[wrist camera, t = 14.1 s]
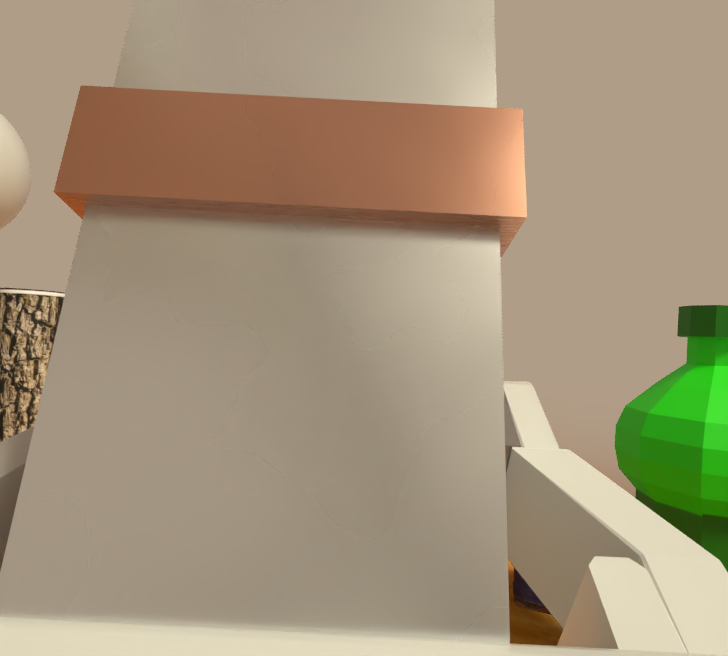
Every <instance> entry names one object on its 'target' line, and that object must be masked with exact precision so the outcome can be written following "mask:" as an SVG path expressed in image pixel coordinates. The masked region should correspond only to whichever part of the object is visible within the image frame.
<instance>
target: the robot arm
mask: <svg viewBox="0 0 728 656" xmlns="http://www.w3.org/2000/svg"><path fill="white" fill-rule="evenodd" d="M30 186H31V167H30V161H29V157H28V154H27V151H26V148H25V146H24V144H23V142H22V141H21V138H20V137H19V135H18V134H17V132H16V130H15V129H14V128H13V127H12V125H11V124H10V123H9V122H8V121H7V120H6V118H5V117H4V116H3V115H1V114H0V229H1V228H3V227H4V226H6V225H7V224H8V223H10V222H11V221H12V220H13V219H14V218H15V217H16V216H17V214H18V213H19V212H20V211H21V209H22V207H23V206H24V204H25V202H26V200H27V197H28V194H29V191H30ZM504 421H505V461H506V502H507V542H508V560H509V561H510V562H511V564H512V565H513V566H514V567H515V569H516V570H517V571H518V572H519V574H520V575H521V576H522V578H523V579H524V580H525V581H526V583H527V584H528V585H529V586H530V588H531V589H532V590H533V591H534V593H535V594H536V595H537V597H538V598H539V599H540V600H541V602H542V603H543V604H544V605H545V607H546V608H547V609H548V610H549V612H550V613H551V614H552V615H553V617H554V618H555V619H556V621H557V622H558V623H559V624H560V626H561V627H562V628H563V632H562V634H561V637H560V639H559V642H558V644H557V646H548V645H529V644H510V643H492V642H473V641H454V640H435V639H416V638H397V637H378V636H359V635H341V634H322V633H304V632H286V631H268V630H247V629H226V628H205V627H184V626H164V625H144V624H125V623H105V622H86V621H66V620H47V619H27V618H8V617H0V656H728V572H727V571H726V569H725V568H724V566H723V564H722V563H721V561H720V560H719V559H717V558H716V557H715V556H713V555H712V554H711V553H709V552H708V551H706V550H705V549H704V548H702V547H701V546H700V545H698V544H697V543H696V542H694V541H693V540H691V539H690V538H689V537H687V536H686V535H685V534H683V533H682V532H681V531H679V530H678V529H676V528H675V527H674V526H672V525H671V524H670V523H668V522H667V521H666V520H664V519H663V518H662V517H660V516H659V515H657V514H656V513H655V512H653V511H652V510H651V509H649V508H648V507H647V506H645V505H644V504H642V503H641V502H640V501H638V500H637V499H636V498H634V497H633V496H631V495H630V494H629V493H627V492H626V491H625V490H623V489H622V488H621V487H619V486H618V485H617V484H615V483H614V482H613V481H611V480H610V479H608V478H607V477H605V476H604V475H603V474H602V473H600V472H599V471H598V470H596V469H595V468H593V467H592V466H591V465H589V464H588V463H587V462H585V461H584V460H583V459H581V458H580V457H578V456H577V455H576V454H574V453H573V452H572V451H570V450H566V449H565V450H564V449H559V446H558V444H557V442H556V439H555V437H554V435H553V432H552V430H551V427H550V425H549V423H548V420H547V418H546V416H545V414H544V411H543V409H542V406H541V404H540V401H539V399H538V397H537V394H536V392H535V390H534V387H533V385H532V384H531V383H529V382H517V381H516V382H514V381H504ZM33 430H34V426H33V427H31V428H29V429H27V430H25V431H23V432H21V433H19V434H16V435H14V436H12V437H10V438H8V439H6V440H4V441H2V442H0V571H1V567H2V563H3V558H4V554H5V550H6V546H7V541H8V537H9V533H10V528H11V524H12V520H13V516H14V511H15V507H16V503H17V498H18V494H19V490H20V485H21V481H22V477H23V473H24V468H25V464H26V460H27V455H28V451H29V447H30V443H31V438H32V434H33Z"/></svg>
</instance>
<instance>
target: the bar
mask: <svg viewBox="0 0 728 656" xmlns="http://www.w3.org/2000/svg"><path fill="white" fill-rule="evenodd" d="M495 61H496V59H495V19H494V0H133V5H132V9H131V13H130V18H129V22H128V26H127V30H126V35H125V39H124V44H123V48H122V52H121V57H120V60H119V65H118V69H117V74H116V78H115V82H114V86H113V87H97V86H81V87H80V91H79V95H78V99H77V103H76V107H75V111H74V115H73V118H72V122H71V126H70V131H69V134H68V138H67V142H66V146H65V150H64V154H63V158H62V162H61V166H60V169H59V173H58V177H57V181H56V185H55V189H54V192H55V193H56V194H57V195H58V196H59V197H60V198H61V199H62V200H63V201H64V202H65V203H66V204H67V205H68V206H69V207H70V208H71V209H72V210H73V211H74V212H75V213H77V215H78V216H80V217H81V218H82V224H81V228H80V232H79V236H78V241H77V245H76V249H75V254H74V258H73V262H72V267H71V271H70V275H69V279H68V284H67V289H66V292H65V297H64V301H63V305H62V309H61V314H60V318H59V322H58V327H57V331H56V335H55V340H54V344H53V348H52V352H51V357H50V361H49V365H48V370H47V374H46V378H45V382H44V387H43V391H42V395H41V400H40V404H39V408H38V412H37V417H36V421H35V425H34V430H33V434H32V438H31V443H30V447H29V451H28V455H27V460H26V464H25V468H24V473H23V477H22V481H21V485H20V490H19V494H18V498H17V503H16V507H15V511H14V516H13V520H12V524H11V528H10V533H9V537H8V541H7V546H6V550H5V554H4V558H3V563H2V567H1V571H0V617H8V618H27V619H47V620H66V621H86V622H105V623H125V624H144V625H164V626H184V627H205V628H226V629H247V630H268V631H286V632H304V633H322V634H341V635H359V636H378V637H397V638H416V639H435V640H454V641H473V642H492V643H510V622H509V582H508V542H507V502H506V461H505V421H504V381H503V345H502V344H503V343H502V342H503V341H502V302H501V262H500V261H501V260H500V258H501V257H502V255H503V254H504V252H505V251H506V249H507V248H508V246H509V244H510V243H511V241H512V240H513V238H514V237H515V235H516V234H517V232H518V230H519V229H520V227H521V226H522V224H523V223H524V221H525V219H526V218H527V207H526V187H525V186H526V183H525V159H524V137H523V111H522V109H507V108H497V99H496V62H495Z"/></svg>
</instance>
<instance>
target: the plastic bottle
mask: <svg viewBox="0 0 728 656" xmlns="http://www.w3.org/2000/svg"><path fill="white" fill-rule="evenodd" d="M678 336H680V337H688V344H687V363H686V364H685V365H683V366H682V367H680V368H678V369H677V370H675V371H674V372H672V373H671V374H669V375H668V376H666V377H664V378H663V379H661V380H660V381H658V382H657V383H655V384H654V385H653V386H651V387H650V388H649V389H647V390H646V391H645V392H644V393H642V394H641V395H639V396H638V397H637V398H635V399H634V400H633V401H631V402H630V403H629V404H627V405H626V406H625V408H624V410H623V412H622V414H621V416H620V418H619V420H618V422H617V424H616V435H615V449H616V454H617V460H618V466H619V469H620V470H621V471H622V472H623V473H624V475H625V476H626V477H627V478H628V479H629V480H630V482H631V483H632V484H633V485H634V487H635V488H636V499H637V500H638V501H640V502H641V503H642V504H644V505H645V506H647V507H648V508H649V509H651V510H652V511H653V512H655V513H656V514H657V515H659V516H660V517H662V518H663V519H664V520H666V521H667V522H668V523H670V524H671V525H672V526H674V527H675V528H676V529H678V530H679V531H681V532H682V533H683V534H685V535H686V536H687V537H689V538H690V539H691V540H693V541H694V542H696V543H697V544H698V545H700V546H701V547H702V548H704V549H705V550H706V551H708V552H709V553H711V554H712V555H713V556H715V557H716V558H717V559H719V560H720V561H721V563H722V564H723V566H724V568H725V569H726V571H727V572H728V306H723V305H722V306H721V305H711V306H710V305H708V306H707V305H706V306H683V307H679V318H678Z"/></svg>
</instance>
